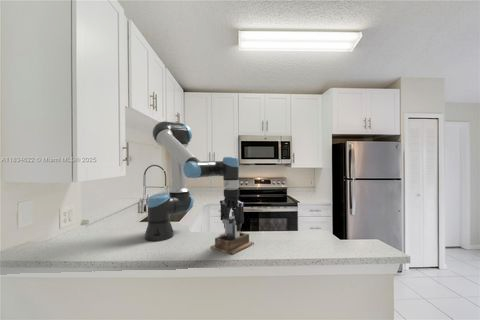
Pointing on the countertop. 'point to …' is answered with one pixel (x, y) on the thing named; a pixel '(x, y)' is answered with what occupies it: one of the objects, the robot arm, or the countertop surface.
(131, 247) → the countertop surface
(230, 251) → the wooden box
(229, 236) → the bracket
